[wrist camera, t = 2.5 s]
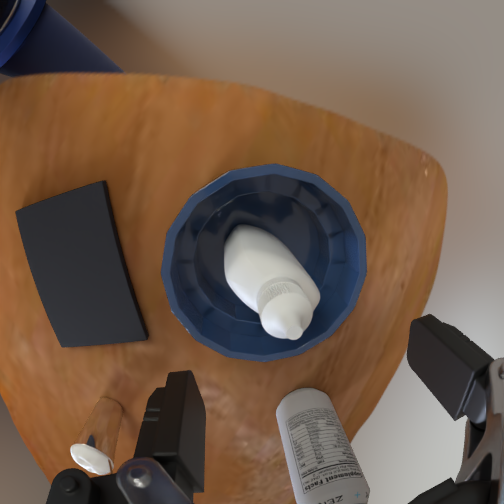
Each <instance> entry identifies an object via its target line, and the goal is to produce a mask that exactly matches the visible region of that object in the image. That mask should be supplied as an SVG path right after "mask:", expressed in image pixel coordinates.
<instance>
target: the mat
mask: <svg viewBox="0 0 504 504" xmlns="http://www.w3.org/2000/svg"><path fill="white" fill-rule="evenodd" d="M15 212H16V217H17V222H18V226H19V230H20V234H21V238H22V242H23V246H24V249H25V253H26V256H27V260H28V263H29V266H30V269H31V272H32V275H33V278H34V281H35V284H36V287H37V290H38V293H39V295H40V298H41V301H42V303H43V306H44V308H45V311H46V313H47V316H48V318H49V320H50V323H51V325H52V327H53V330H54V332H55V334H56V336H57V338H58V341H59V343H60V345H61V347H77V346H91V345H103V344H114V343H124V342H134V341H143V340H147V339H148V337H149V335H148V332H147V329H146V326H145V324H144V321H143V318H142V315H141V312H140V309H139V306H138V303H137V300H136V297H135V294H134V291H133V288H132V284H131V281H130V278H129V274H128V271H127V268H126V264H125V261H124V257H123V253H122V250H121V246H120V242H119V238H118V234H117V230H116V226H115V222H114V217H113V213H112V208H111V204H110V199H109V194H108V189H107V184H106V181H105V180H104V181H100V182H96V183H93V184H90V185H87V186H83V187H80V188H77V189H74V190H71V191H68V192H65V193H62V194H59V195H57V196H54V197H51V198H48V199H45V200H43V201H40V202H37V203H35V204H32V205H30V206H27V207H25V208H22V209H20V210H17V211H15Z"/></svg>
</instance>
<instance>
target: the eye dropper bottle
mask: <svg viewBox="0 0 504 504" xmlns="http://www.w3.org/2000/svg"><path fill="white" fill-rule="evenodd" d="M224 268H225V276H226V280H227V282H228V284H229V286H230V287H231V289H232V290H233V291H234V293H235V294H236V295H237V296H238V297H239V298H240V299H241V300H242V301H243V302H244V303H245V304H246V305H247V306H248V307H250V308H251V309H253V310H254V311H255V312H257V313H259V316H260V320H261V324H262V326H263V328H264V329H265V331H266V332H268V334H270V335H272V336H275V337H277V338H282V339H283V338H289V339H290V340H296V339H298V338H300V337H301V335H302V333H303V331H305V329H306V328H307V327H308V325H310V323H311V320H312V318H313V317H312V316H313V311H314V309H315V308H316V306H317V305H318V303H319V301H320V292H319V290H318V288H317V286H316V284H315V283H314V281H313V280H312V279H311V277H310V276H309V274H308V273H307V272H306V270H305V269H304V268H303V267H302V265H301V264H300V263H299V261H298V260H297V259H296V258H295V256H294V255H293V254H292V253H291V251H290V250H289V249H288V248H287V247H286V245H285V244H284V243H283V242H281V241H280V240H279V239H278V238H277V237H275V236H274V235H272V234H271V233H269V232H267V231H265V230H263V229H260V228H258V227H254V226H250V225H245V224H240V225H237V226H236V227H234V229H233V230H232V232H231V233H230V235H229V236H228V238H227V240H226V241H225V244H224Z"/></svg>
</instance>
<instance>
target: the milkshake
mask: <svg viewBox="0 0 504 504" xmlns="http://www.w3.org/2000/svg"><path fill="white" fill-rule="evenodd" d="M122 417H123V409H122V406H121V405H120V404H119V403H117V402H116V401H115V400H112V399H110V398H100V399H99V400H98V402H97V403H96V405H95V407H94V408H93V410H92V412H91V414H90V416H89V417H88V419H87V421H86V423H85V425H84V426H83V428H82V430H81V431H80V433H79V434H78V436H77V438H76V440H75V441H74V443H73V445H72V446H71V455H72V457H73V459H74V460H75V461H76V462H77V463H78V464H79V465H80V466H82V467H84V468H85V469H86V470H88V471H89V472H93V473H97V474H99V475H103V474H106V473H108V472H110V473H111V474H113V471H112V469H113V467H114V459H115V452H116V446H117V441H118V436H119V431H120V426H121V422H122Z"/></svg>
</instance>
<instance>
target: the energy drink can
mask: <svg viewBox="0 0 504 504" xmlns="http://www.w3.org/2000/svg"><path fill="white" fill-rule="evenodd" d="M276 417H277V421H278V425H279V430H280V434H281V438H282V443H283V447H284V451H285V456H286V460H287V464H288V469H289V473H290V477H291V481H292V485H293V490H294V494H295V498H296V502H297V504H367V502H368V498H369V493H370V488H369V486H368V484H367V481H366V479H365V477H364V475H363V472H362V470H361V468H360V466H359V463H358V461H357V459H356V456H355V454H354V452H353V450H352V447H351V445H350V443H349V441H348V438H347V436H346V434H345V432H344V429H343V427H342V425H341V423H340V420H339V418H338V416H337V414H336V411H335V409H334V407H333V405H332V403H331V400H330V398H329V397H328V395H327V394H325V393H324V392H322V391H319V390H317V389H314V388H301V389H297V390H295V391H293V392H291V393H289V394H288V395H286V396H285V397H284V398H283V399H282V401H281V403H280V405H279V406H278V408H277V410H276Z"/></svg>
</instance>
